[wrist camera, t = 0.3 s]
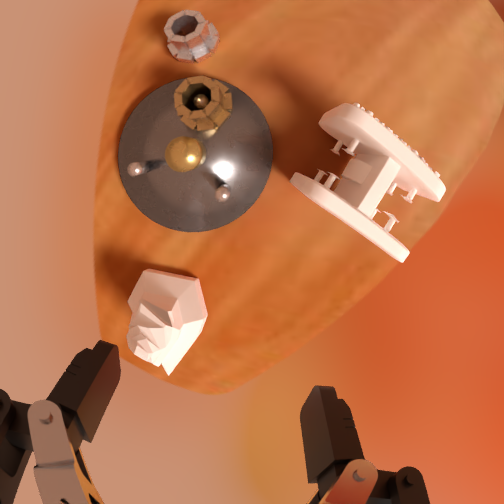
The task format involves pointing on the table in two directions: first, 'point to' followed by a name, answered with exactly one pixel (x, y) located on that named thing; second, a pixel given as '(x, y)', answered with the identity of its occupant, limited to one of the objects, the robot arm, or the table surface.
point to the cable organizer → (369, 175)
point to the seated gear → (212, 112)
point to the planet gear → (191, 36)
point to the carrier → (194, 161)
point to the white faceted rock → (165, 317)
